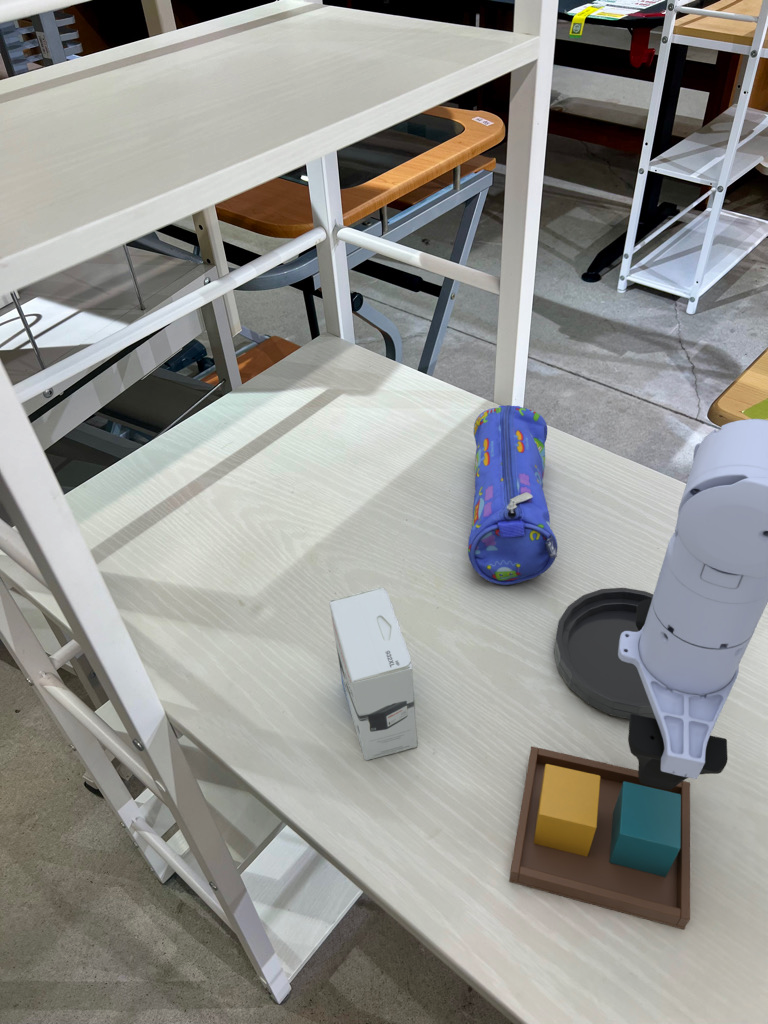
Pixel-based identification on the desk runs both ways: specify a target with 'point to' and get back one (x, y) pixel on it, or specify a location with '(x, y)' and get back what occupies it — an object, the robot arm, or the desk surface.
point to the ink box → (375, 672)
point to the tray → (600, 851)
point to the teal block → (646, 829)
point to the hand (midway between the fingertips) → (657, 732)
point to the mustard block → (567, 810)
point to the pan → (602, 651)
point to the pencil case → (510, 497)
